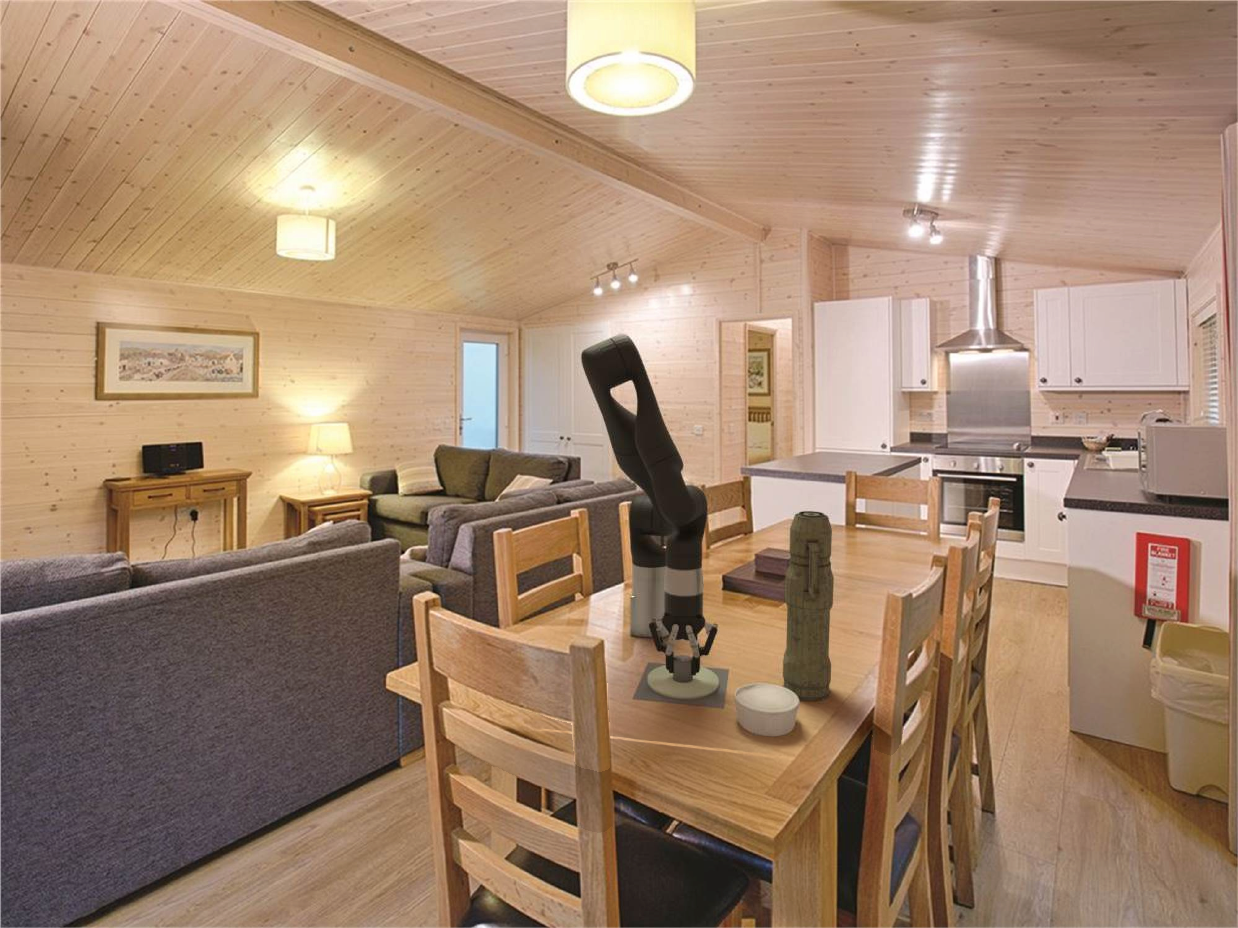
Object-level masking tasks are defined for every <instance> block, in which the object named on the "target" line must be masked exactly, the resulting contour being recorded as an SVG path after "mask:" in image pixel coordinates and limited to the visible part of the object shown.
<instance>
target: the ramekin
mask: <svg viewBox="0 0 1238 928" xmlns="http://www.w3.org/2000/svg"><path fill="white" fill-rule="evenodd" d="M733 699H734V703H735V709H736V716H737V720H738V724H739V725H740V726H741V727H742V728H743V729H744V730H745V731H747V732H750V733H752V734H754V735H758V736H762V737H781V736H785V735H788V734H789V733H790V732H792V731H793V729H795V725H796V720H797V715H798V710H799V709H800V700H799V698H798V696H797V695H796V694H795V693H794V692H792V691H791V690H789V689H787V688H784V687H783V686H780V685H777V684H773V683H761V682H759V683H757V682H756V683H749V684H745V685H742V686H740V687H738V688H737V689H736V690H735V691H734V694H733Z"/></svg>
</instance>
